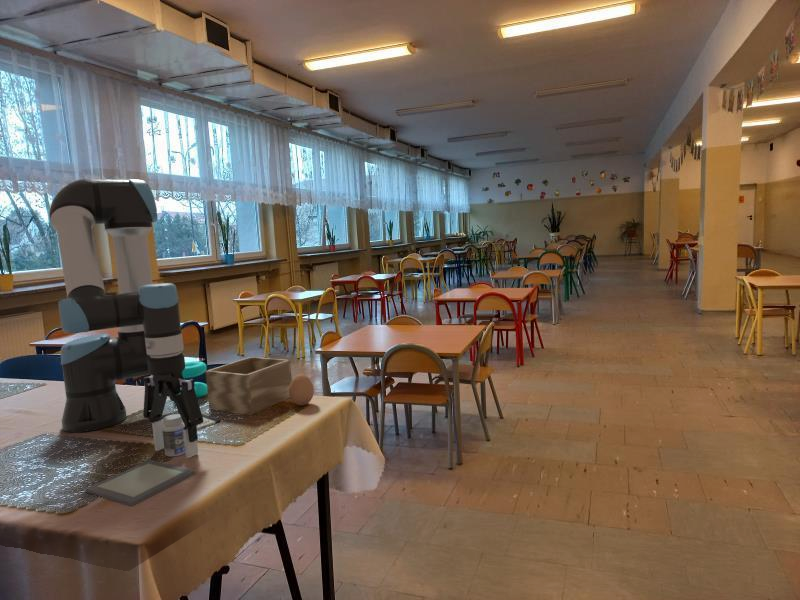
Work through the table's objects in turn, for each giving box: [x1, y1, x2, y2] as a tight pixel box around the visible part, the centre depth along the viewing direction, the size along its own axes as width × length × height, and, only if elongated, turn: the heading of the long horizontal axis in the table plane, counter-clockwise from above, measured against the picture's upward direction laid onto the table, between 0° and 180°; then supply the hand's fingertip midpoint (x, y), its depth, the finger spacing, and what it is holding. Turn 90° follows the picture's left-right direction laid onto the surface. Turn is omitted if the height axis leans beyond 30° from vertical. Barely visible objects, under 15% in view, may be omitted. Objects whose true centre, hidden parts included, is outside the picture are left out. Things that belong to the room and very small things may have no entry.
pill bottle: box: [162, 414, 186, 458], centre depth 119 cm, size 5×5×8 cm
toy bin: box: [204, 356, 293, 416], centre depth 153 cm, size 16×18×11 cm
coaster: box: [84, 459, 196, 506], centre depth 105 cm, size 14×14×1 cm
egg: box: [289, 373, 315, 407], centre depth 148 cm, size 7×7×9 cm
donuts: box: [179, 360, 208, 399], centre depth 164 cm, size 10×10×10 cm
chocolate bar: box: [160, 410, 221, 431], centre depth 141 cm, size 9×1×18 cm
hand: (176, 451), depth 119 cm, fingers open, 9 cm apart
